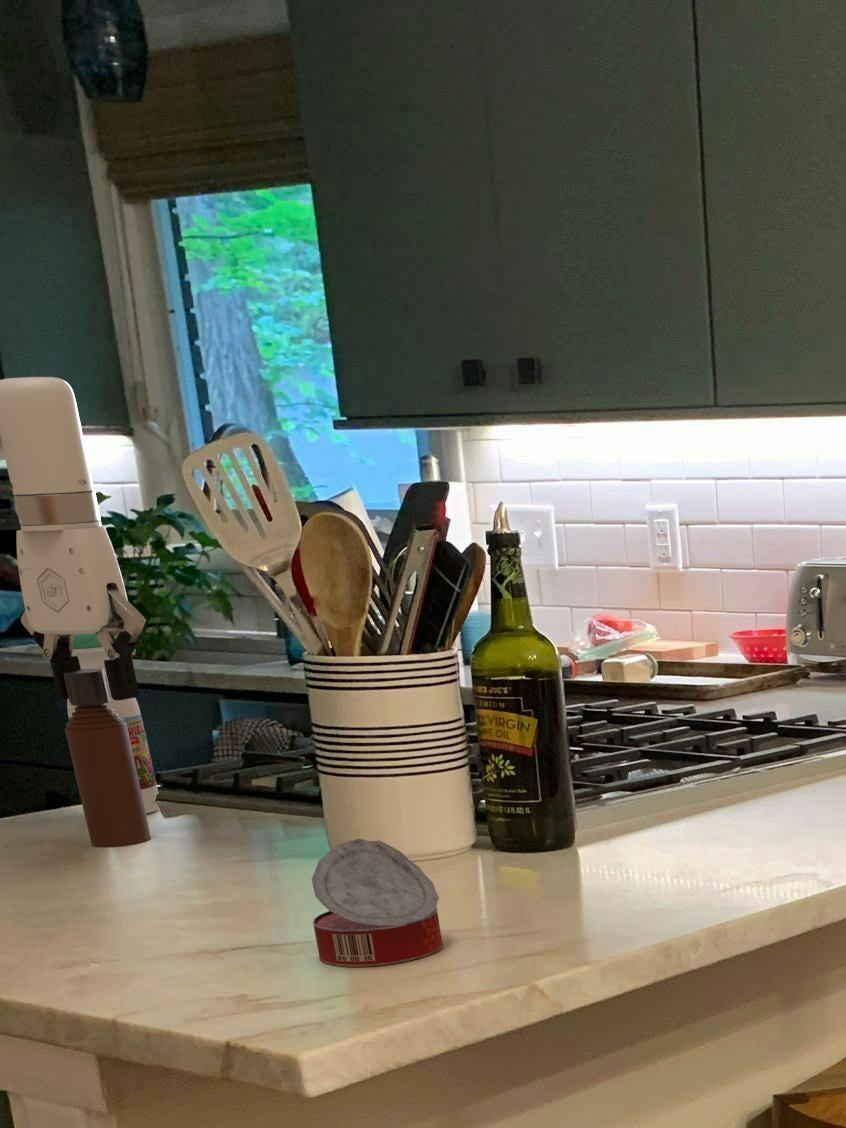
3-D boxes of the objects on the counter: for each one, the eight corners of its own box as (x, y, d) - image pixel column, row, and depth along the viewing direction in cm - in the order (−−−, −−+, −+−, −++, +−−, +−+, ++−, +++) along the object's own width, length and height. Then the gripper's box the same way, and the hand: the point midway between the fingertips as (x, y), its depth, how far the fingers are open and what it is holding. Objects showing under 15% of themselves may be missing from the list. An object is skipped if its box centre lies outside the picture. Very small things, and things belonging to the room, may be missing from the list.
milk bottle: (75, 819, 220) (33, 635, 211) (117, 806, 226) (78, 627, 218) (134, 819, 218) (94, 634, 210) (175, 806, 225) (137, 626, 216)
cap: (104, 704, 199) (97, 672, 198) (65, 706, 199) (58, 674, 198) (115, 699, 203) (108, 667, 201) (77, 701, 202) (70, 669, 201)
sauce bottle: (79, 847, 204) (41, 680, 197) (111, 835, 210) (74, 673, 203) (131, 846, 203) (94, 679, 196) (161, 834, 209) (127, 671, 202)
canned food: (434, 988, 164) (476, 880, 161) (407, 1009, 154) (451, 894, 152) (306, 932, 162) (347, 822, 160) (271, 950, 153) (313, 833, 150)
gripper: (-35, 517, 193) (9, 702, 200) (94, 514, 186) (134, 705, 194) (25, 512, 199) (66, 691, 207) (152, 509, 193) (189, 694, 200)
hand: (99, 696), depth 200 cm, fingers open, 6 cm apart
